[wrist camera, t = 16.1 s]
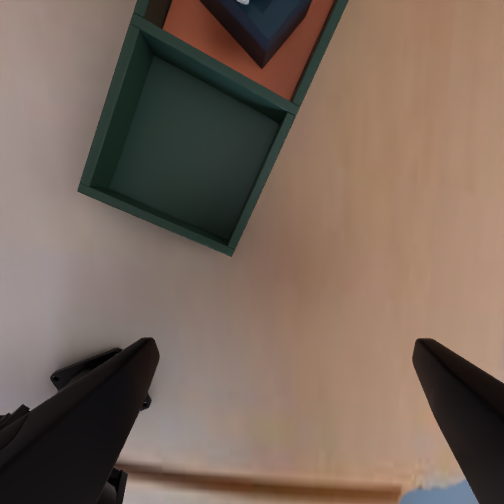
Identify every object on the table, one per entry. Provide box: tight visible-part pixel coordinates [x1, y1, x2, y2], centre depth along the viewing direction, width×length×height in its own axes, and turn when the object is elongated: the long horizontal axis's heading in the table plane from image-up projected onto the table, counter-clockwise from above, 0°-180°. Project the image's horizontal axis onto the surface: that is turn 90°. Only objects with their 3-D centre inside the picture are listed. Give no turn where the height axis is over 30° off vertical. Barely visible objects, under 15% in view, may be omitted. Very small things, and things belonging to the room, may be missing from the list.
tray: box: [78, 0, 348, 257], centre depth 16 cm, size 21×11×3 cm, turn 155°
